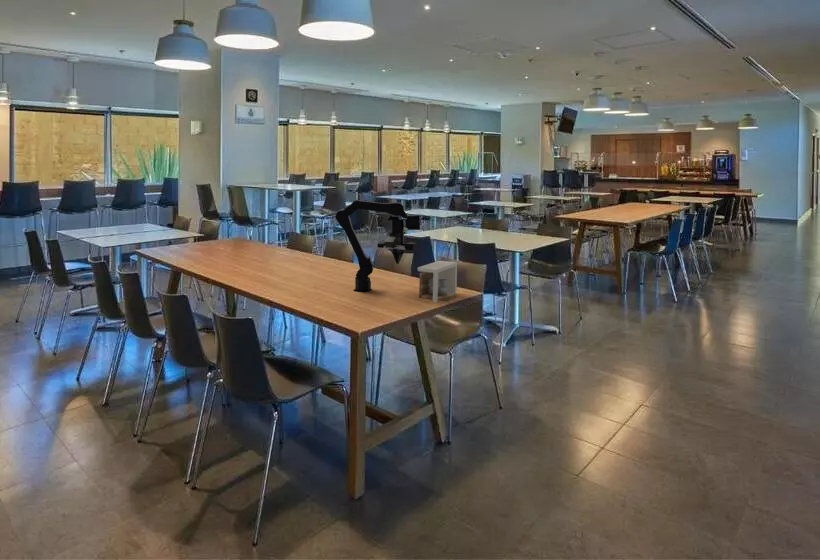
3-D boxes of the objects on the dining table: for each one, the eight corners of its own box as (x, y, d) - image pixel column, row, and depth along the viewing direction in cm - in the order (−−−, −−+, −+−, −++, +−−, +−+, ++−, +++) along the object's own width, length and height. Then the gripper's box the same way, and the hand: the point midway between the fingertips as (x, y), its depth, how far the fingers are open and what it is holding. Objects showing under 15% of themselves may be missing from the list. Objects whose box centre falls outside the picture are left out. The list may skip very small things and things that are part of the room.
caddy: (419, 297, 267) (419, 273, 265) (429, 293, 275) (429, 269, 273) (445, 301, 261) (446, 276, 258) (455, 296, 269) (456, 272, 267)
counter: (417, 300, 261) (417, 267, 258) (438, 291, 279) (439, 260, 276) (435, 302, 257) (436, 269, 254) (456, 293, 275) (457, 262, 272)
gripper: (370, 230, 273) (371, 264, 276) (407, 233, 264) (406, 268, 267) (383, 228, 282) (383, 261, 285) (418, 230, 274) (418, 264, 277)
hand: (397, 263), depth 278 cm, fingers closed
